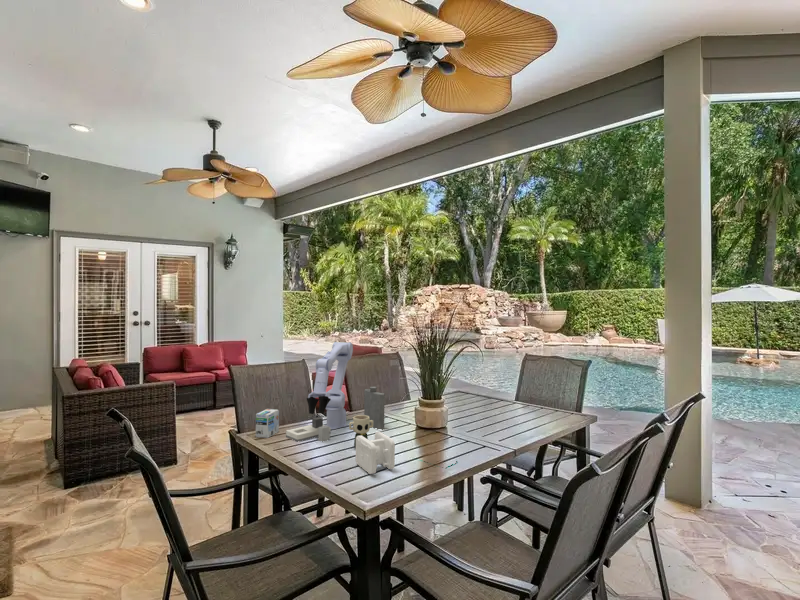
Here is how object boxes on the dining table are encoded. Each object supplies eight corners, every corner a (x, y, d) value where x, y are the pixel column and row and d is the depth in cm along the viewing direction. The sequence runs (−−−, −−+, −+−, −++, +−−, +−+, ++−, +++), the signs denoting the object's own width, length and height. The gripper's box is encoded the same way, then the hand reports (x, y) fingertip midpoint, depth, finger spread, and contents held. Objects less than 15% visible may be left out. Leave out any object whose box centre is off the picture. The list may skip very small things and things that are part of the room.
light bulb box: (268, 438, 199) (268, 414, 199) (254, 437, 201) (255, 413, 201) (279, 431, 210) (279, 409, 210) (266, 430, 211) (266, 408, 211)
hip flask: (385, 429, 215) (385, 388, 215) (378, 430, 212) (379, 389, 212) (368, 422, 227) (368, 384, 227) (361, 423, 225) (361, 384, 225)
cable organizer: (396, 472, 160) (396, 441, 160) (370, 477, 155) (370, 445, 155) (378, 459, 173) (378, 430, 173) (353, 464, 168) (354, 434, 168)
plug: (325, 438, 199) (325, 425, 199) (329, 439, 197) (329, 426, 197) (318, 440, 197) (318, 427, 197) (322, 441, 194) (322, 428, 195)
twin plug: (319, 425, 210) (319, 417, 210) (322, 426, 208) (322, 418, 208) (312, 427, 207) (312, 418, 207) (315, 428, 205) (315, 419, 205)
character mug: (351, 451, 183) (351, 420, 183) (346, 445, 189) (347, 416, 189) (375, 448, 187) (375, 417, 187) (370, 443, 193) (370, 413, 193)
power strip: (318, 429, 214) (318, 422, 214) (330, 433, 207) (330, 426, 207) (285, 437, 201) (286, 429, 201) (297, 441, 194) (297, 434, 194)
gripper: (304, 383, 205) (299, 412, 199) (323, 380, 195) (318, 411, 190) (317, 386, 209) (312, 414, 204) (335, 384, 199) (331, 414, 194)
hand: (316, 413), depth 197 cm, fingers open, 7 cm apart
